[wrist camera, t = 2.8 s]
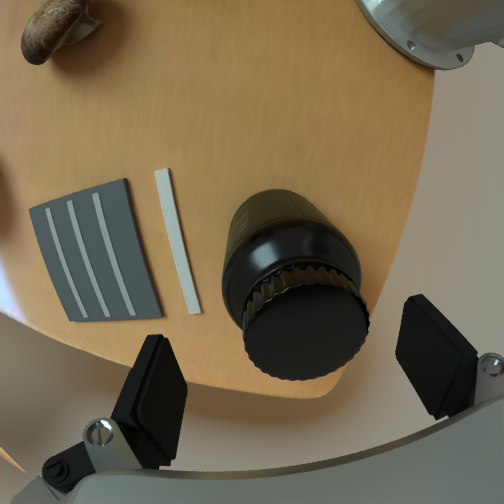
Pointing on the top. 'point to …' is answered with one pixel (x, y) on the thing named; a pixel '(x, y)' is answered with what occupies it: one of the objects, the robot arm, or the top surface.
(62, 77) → the top surface
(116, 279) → the mat
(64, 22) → the mushroom
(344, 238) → the supplement bottle
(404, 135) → the top surface
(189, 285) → the strip
